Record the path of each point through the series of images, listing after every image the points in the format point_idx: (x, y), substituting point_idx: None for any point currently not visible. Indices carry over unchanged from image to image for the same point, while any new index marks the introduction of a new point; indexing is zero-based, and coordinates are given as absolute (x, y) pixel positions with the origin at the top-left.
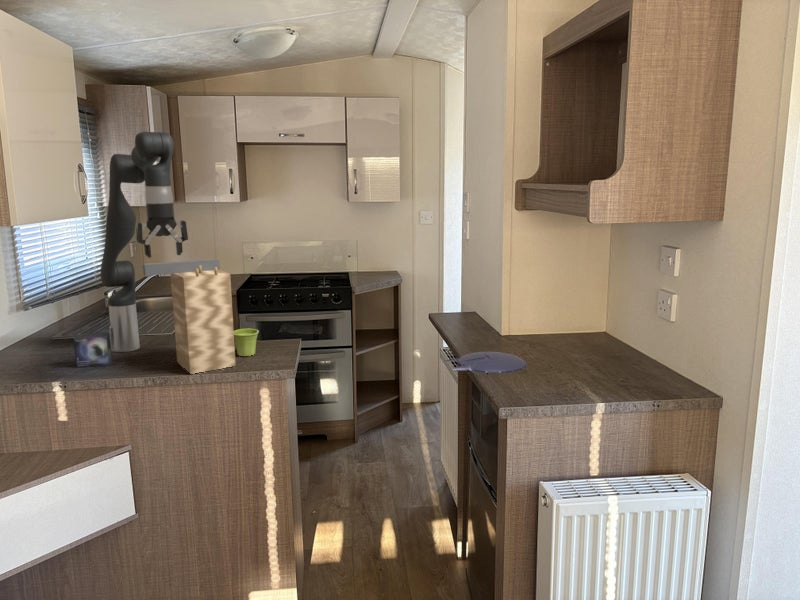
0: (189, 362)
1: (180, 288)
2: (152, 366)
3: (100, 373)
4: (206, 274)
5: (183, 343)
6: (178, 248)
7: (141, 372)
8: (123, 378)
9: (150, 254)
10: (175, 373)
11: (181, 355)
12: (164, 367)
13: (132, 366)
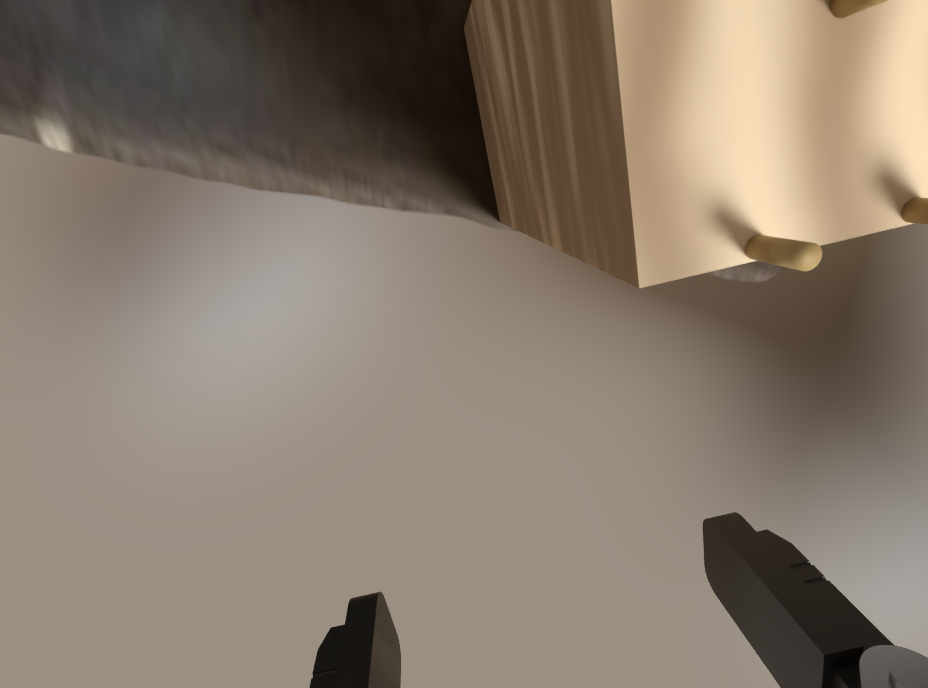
0: (507, 223)
1: (585, 156)
2: (372, 51)
3: (188, 72)
4: (852, 159)
5: (503, 149)
6: (765, 658)
7: (339, 123)
8: (286, 176)
9: (393, 685)
10: (454, 184)
11: (485, 104)
12: (417, 87)
13: (295, 16)
